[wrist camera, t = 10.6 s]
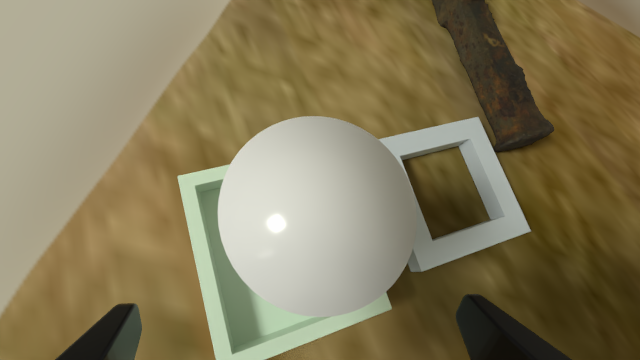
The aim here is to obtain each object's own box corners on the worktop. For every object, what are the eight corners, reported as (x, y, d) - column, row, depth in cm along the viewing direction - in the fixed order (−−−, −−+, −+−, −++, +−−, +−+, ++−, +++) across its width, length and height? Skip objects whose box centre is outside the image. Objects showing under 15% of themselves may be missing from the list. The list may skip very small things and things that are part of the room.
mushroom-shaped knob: (338, 249, 20) (452, 218, 9) (278, 307, 19) (316, 369, 7) (287, 190, 21) (328, 84, 9) (223, 242, 19) (171, 194, 7)
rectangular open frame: (514, 233, 24) (531, 231, 23) (410, 271, 22) (421, 271, 20) (466, 125, 26) (478, 116, 25) (366, 148, 24) (372, 140, 22)
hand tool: (524, 150, 27) (576, 127, 23) (488, 157, 26) (535, 134, 22) (450, -18, 32) (482, -65, 27) (417, -18, 31) (444, -66, 26)
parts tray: (376, 304, 21) (391, 308, 18) (224, 363, 18) (219, 377, 16) (326, 155, 23) (335, 141, 21) (186, 187, 20) (177, 176, 18)
